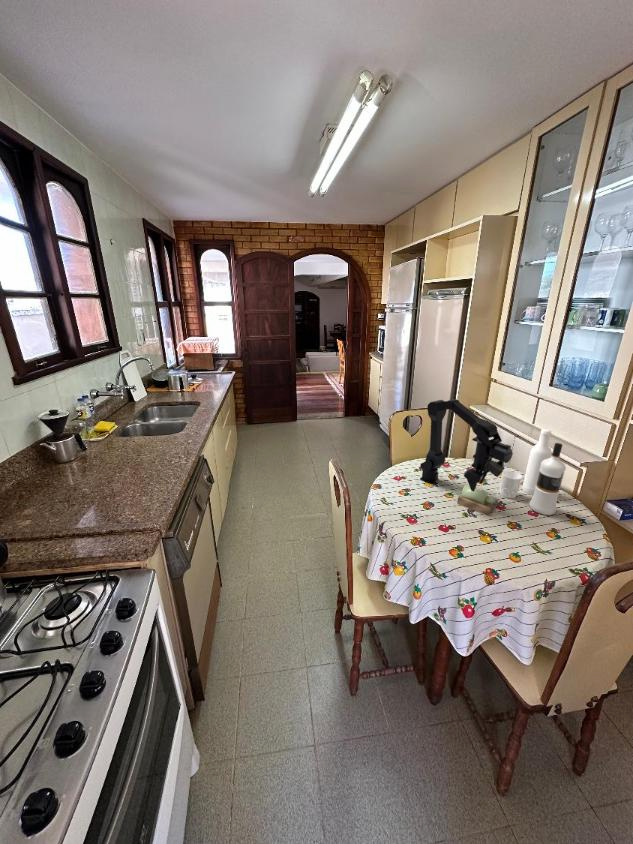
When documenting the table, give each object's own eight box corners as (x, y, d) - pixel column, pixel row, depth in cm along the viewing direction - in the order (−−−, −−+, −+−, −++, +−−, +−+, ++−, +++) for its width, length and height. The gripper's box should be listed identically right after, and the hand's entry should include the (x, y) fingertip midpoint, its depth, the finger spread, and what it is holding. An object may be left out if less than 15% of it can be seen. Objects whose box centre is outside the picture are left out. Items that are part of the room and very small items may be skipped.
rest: (457, 503, 149) (458, 497, 148) (466, 494, 156) (467, 488, 155) (488, 515, 140) (489, 509, 139) (497, 505, 148) (498, 499, 147)
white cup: (516, 501, 151) (520, 481, 147) (496, 495, 155) (500, 475, 152) (519, 493, 157) (523, 474, 153) (500, 488, 161) (504, 469, 158)
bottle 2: (545, 495, 155) (561, 433, 145) (527, 495, 155) (542, 433, 145) (535, 486, 163) (550, 426, 153) (518, 486, 163) (532, 426, 153)
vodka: (535, 501, 151) (551, 437, 141) (559, 511, 144) (577, 445, 134) (524, 507, 146) (540, 442, 136) (548, 518, 139) (566, 450, 129)
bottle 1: (460, 499, 150) (462, 487, 148) (465, 494, 154) (467, 482, 152) (492, 512, 141) (495, 499, 139) (497, 506, 145) (500, 493, 143)
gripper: (496, 467, 130) (489, 503, 135) (511, 452, 142) (504, 485, 147) (466, 458, 137) (460, 492, 142) (483, 444, 150) (477, 477, 155)
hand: (476, 487), depth 146 cm, fingers open, 9 cm apart
